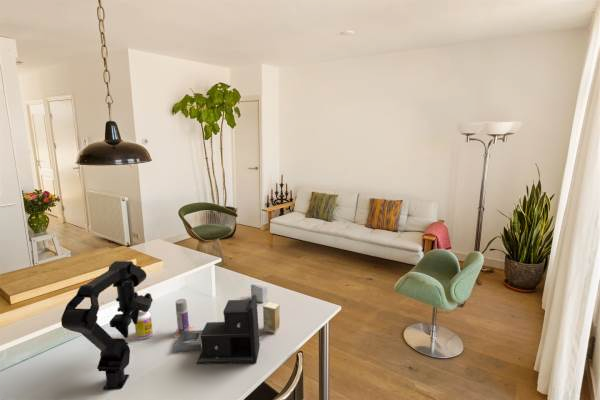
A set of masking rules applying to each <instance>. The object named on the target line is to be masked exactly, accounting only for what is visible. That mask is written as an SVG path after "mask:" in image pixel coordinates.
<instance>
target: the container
mask: <svg viewBox="0 0 600 400" xmlns="http://www.w3.org/2000/svg"><path fill="white" fill-rule="evenodd" d="M175 314H176V323H177V329H178V333H179V335H180V334H181V332H183V331H189V327H190V324H189V313H188V303H187V299H186V298H179V299H176V301H175Z"/></svg>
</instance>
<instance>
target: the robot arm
mask: <svg viewBox="0 0 600 400" xmlns="http://www.w3.org/2000/svg"><path fill="white" fill-rule="evenodd" d="M146 279H147V273H146V271H145V270H144V269H142V268H141V266H140V265H136V264H134V262H133V260H116V261H114V262H112V263H111V264H110V265H109V266H108V270H106V271H105V272H104V273H101V274H100V275H99V276H97V277H95V278H94V279H92V280H91V281H89V282H88V283H86V284H83V285H81V286H80V287H79V288H78V290H77V292H76V295H74V296H73V298H72V299H71V300H70V301H69V302H68V303H67V304H66V305H65V309H64V311H63V313H62V315H61V320H60V321H61V326H62V327H63V329H66V330H68V331H71V332H75V333H78V334H81V335H82V336H83V337H84V338H85V339H87V340H88V341H89V342H90V343H92V344H93V345H94V346H95V347H96V348H97V349H98V350H100V353H99V357H100V358H99V361H98V363H97V366H96V369H97V370H98V372H105V378H106V379H105V380H106V383H105V384H104V386H103V387H102V389H103V391H104V390H115V389H122V388H123V387H124V386H125V384H126V382H127V381H128V379H129V377H130V374H125V369H126V368H127V367H128V365H130V357H131V356H130V355H131V349H130V346H129V342H127V341H126V339H127V338H129V326H130V324H131V323H133V325H135V324H137V322H138V316H139V310H140V311H143V312H149V310H150V309H151V306H152V303H153V301H154V299H153V297H152V294H151V293H150V292H147V293H145V294H144V295H142V294H141V295H139V293H138V292H137V291H135V288H136V287H138V286H139V285H140V284H141V283H142V282H144V281H145V280H146ZM111 286H112V287H113V288H116V291H117V297H116V298H115V302H117V303H118V308H117V312H121V313H118V314H115V315H114V316H113V317H112V318H111V319H110V320H109V327H110V328H115V329H116V330H117V331H118V332H119V333H120V334H121V335H122V337H123V338H122V337H121V338H119V337H118V338H117V337H116V338H115V337H112V336H111V335H110V334H109V333H108V332H107V331H106V330H105V329H104V328H103V327H102V326H101V325H99V324H98V312H99V310H100V305H99V296H100V294H101V293H103V292H104V291H105V290H106V289H108V288H109V287H111ZM86 298H89V300H90V306H89V307H90V308H77V307H78V306H79V305H80V304H81V303H82V302H83V301H84V300H85V299H86Z"/></svg>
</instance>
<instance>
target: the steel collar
mask: <svg viewBox="0 0 600 400" xmlns="http://www.w3.org/2000/svg"><path fill="white" fill-rule="evenodd" d="M202 331H203V329H200V330H193V331H183V332H181V334H180V336H179V338H177V341H176V343H175V346H174V348H175V353H188V352H189V353H190V352H201V351H202V342H201V333H202ZM192 340H196V341H192Z"/></svg>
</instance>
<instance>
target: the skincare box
mask: <svg viewBox="0 0 600 400" xmlns="http://www.w3.org/2000/svg"><path fill="white" fill-rule="evenodd" d="M280 308H281V307H280V304H278V303H274V302H270V301H266V302H265V304H264V305H263V307H262V312H263V313H262V314H263V317H262V319H263V323H262V324H263V331H264V332H266V333H270V334H274V335H276V334H277V333H278V332H279V331H280V326H281V325H280V323H281V322H280V321H281V320H280V317H281V316H280V315H281V314H280Z"/></svg>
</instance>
